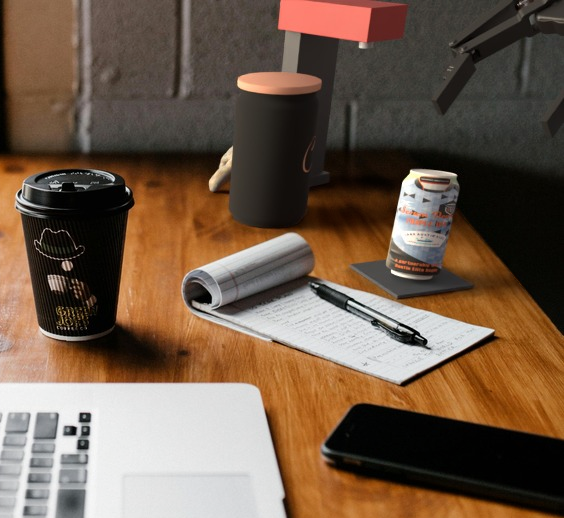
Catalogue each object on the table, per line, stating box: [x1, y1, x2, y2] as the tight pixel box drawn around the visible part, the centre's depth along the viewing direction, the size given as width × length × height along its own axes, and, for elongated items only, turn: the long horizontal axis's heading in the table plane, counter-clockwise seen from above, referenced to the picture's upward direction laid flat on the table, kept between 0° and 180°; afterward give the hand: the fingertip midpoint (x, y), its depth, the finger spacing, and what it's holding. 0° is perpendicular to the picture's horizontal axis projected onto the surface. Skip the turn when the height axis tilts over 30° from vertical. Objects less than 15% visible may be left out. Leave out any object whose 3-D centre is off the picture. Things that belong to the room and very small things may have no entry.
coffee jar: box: [228, 71, 322, 229], centre depth 114 cm, size 11×11×18 cm
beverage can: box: [386, 168, 461, 280], centre depth 96 cm, size 6×7×12 cm
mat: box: [348, 258, 475, 300], centre depth 100 cm, size 10×10×1 cm
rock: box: [208, 145, 233, 193], centre depth 134 cm, size 20×5×7 cm, turn 167°
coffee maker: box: [277, 0, 409, 188], centre depth 122 cm, size 10×18×26 cm, turn 35°
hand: (488, 118), depth 94 cm, fingers open, 13 cm apart
